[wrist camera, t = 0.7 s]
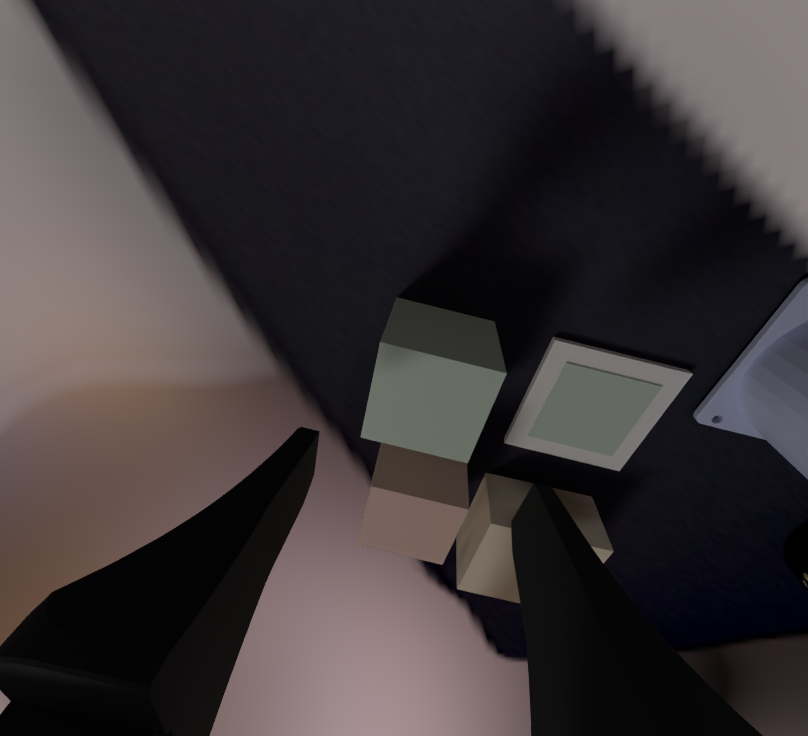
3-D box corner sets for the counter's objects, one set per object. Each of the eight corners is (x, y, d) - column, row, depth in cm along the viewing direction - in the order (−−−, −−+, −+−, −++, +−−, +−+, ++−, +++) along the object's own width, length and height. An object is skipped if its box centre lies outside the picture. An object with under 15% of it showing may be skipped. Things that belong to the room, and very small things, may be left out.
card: (688, 370, 19) (693, 375, 18) (616, 466, 22) (620, 472, 22) (553, 336, 18) (555, 341, 18) (503, 438, 22) (504, 444, 22)
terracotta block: (465, 441, 23) (468, 509, 19) (444, 494, 25) (442, 564, 21) (386, 422, 23) (371, 486, 18) (372, 477, 25) (356, 544, 21)
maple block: (590, 493, 24) (613, 551, 21) (547, 554, 28) (561, 612, 24) (485, 469, 24) (490, 523, 21) (456, 534, 28) (456, 589, 24)
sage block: (494, 320, 19) (506, 373, 14) (464, 399, 21) (467, 463, 17) (397, 296, 18) (380, 342, 14) (379, 378, 21) (360, 437, 17)
